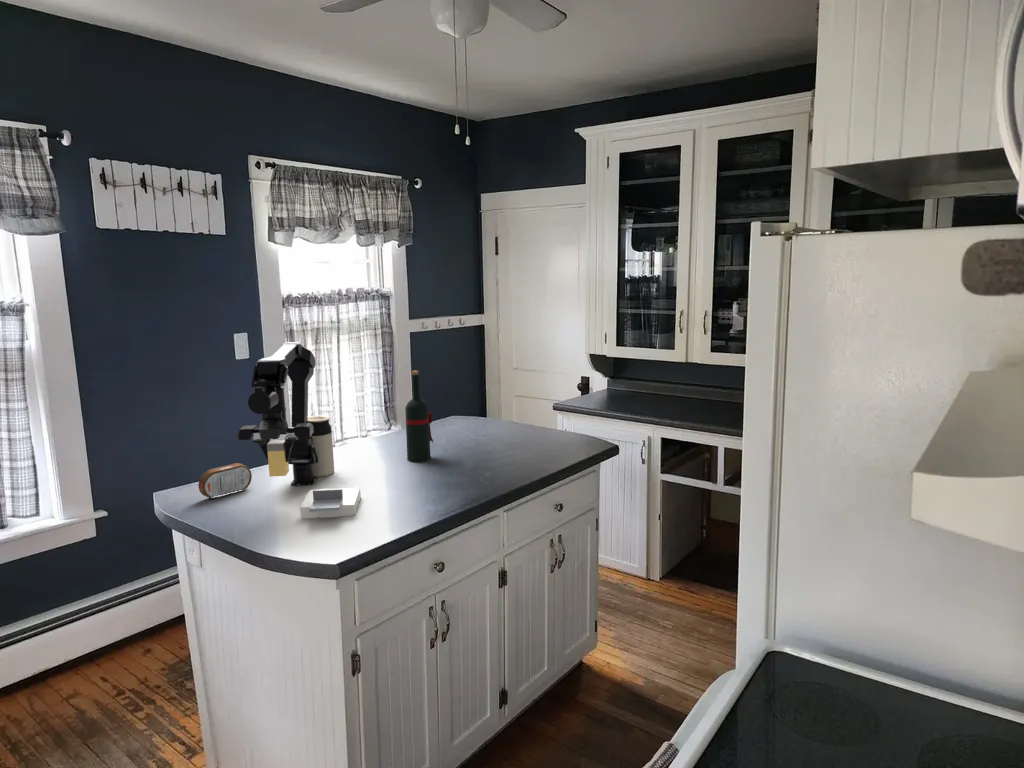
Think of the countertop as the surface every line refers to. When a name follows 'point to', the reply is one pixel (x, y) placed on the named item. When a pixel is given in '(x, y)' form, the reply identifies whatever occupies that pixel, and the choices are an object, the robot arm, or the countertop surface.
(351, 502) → the socket block
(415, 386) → the wine bottle
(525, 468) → the countertop surface
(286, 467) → the plug
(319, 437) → the travel mug
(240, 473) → the tin
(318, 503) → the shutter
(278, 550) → the countertop surface
